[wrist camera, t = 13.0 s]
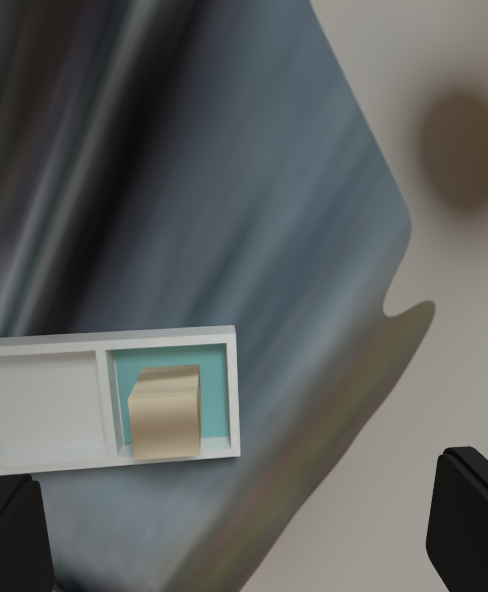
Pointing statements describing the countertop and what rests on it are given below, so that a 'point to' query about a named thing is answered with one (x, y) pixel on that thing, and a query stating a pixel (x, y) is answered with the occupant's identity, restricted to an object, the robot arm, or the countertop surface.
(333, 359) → the countertop surface
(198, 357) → the organiser tray
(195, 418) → the wooden block
